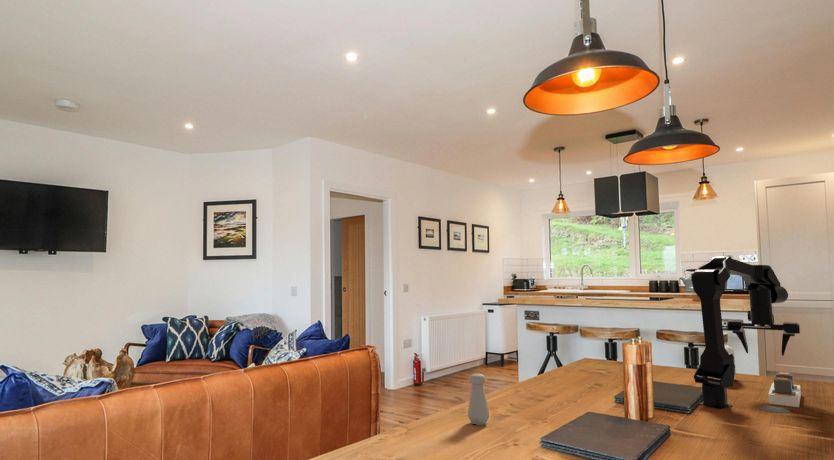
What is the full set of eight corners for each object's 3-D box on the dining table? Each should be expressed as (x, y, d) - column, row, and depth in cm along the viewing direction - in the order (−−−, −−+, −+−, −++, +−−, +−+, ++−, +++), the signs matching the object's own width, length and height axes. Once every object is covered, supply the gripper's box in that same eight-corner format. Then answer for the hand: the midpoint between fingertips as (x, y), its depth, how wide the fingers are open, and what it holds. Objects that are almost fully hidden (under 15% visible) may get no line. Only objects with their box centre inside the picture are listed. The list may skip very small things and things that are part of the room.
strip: (799, 408, 140) (796, 382, 140) (768, 404, 144) (766, 379, 145) (802, 385, 165) (800, 364, 166) (776, 382, 170) (774, 362, 170)
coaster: (780, 416, 133) (780, 414, 133) (753, 409, 139) (753, 408, 139) (795, 412, 136) (795, 410, 136) (768, 406, 142) (768, 404, 142)
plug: (793, 399, 146) (791, 378, 146) (792, 402, 143) (790, 380, 143) (776, 397, 148) (774, 376, 149) (775, 400, 145) (773, 378, 146)
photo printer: (724, 377, 180) (721, 343, 181) (737, 379, 177) (735, 344, 178) (715, 382, 173) (713, 346, 174) (729, 384, 170) (727, 347, 171)
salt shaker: (491, 421, 135) (489, 372, 136) (487, 427, 129) (485, 377, 130) (470, 419, 137) (469, 371, 138) (465, 425, 131) (464, 375, 132)
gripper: (798, 303, 158) (802, 353, 156) (730, 302, 169) (733, 348, 168) (797, 306, 149) (801, 358, 148) (725, 304, 161) (728, 353, 159)
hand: (764, 354), depth 156 cm, fingers open, 9 cm apart
